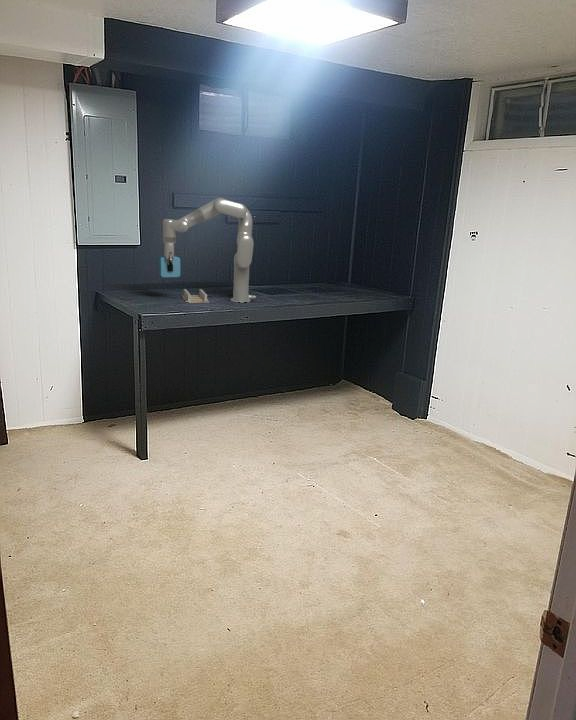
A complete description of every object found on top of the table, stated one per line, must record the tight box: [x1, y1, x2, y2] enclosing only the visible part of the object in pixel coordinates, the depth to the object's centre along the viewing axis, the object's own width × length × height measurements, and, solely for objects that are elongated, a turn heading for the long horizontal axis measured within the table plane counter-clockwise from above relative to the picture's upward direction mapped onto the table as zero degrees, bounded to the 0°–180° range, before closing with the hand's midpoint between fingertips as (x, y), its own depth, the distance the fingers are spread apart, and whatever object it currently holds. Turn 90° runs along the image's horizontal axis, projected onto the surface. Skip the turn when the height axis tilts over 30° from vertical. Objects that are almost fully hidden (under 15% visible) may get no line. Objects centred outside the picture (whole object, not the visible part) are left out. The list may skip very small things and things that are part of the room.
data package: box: [158, 256, 181, 278], centre depth 355 cm, size 12×4×12 cm, turn 117°
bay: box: [181, 288, 210, 304], centre depth 365 cm, size 20×14×5 cm
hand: (169, 270), depth 356 cm, fingers closed on data package, 5 cm apart
